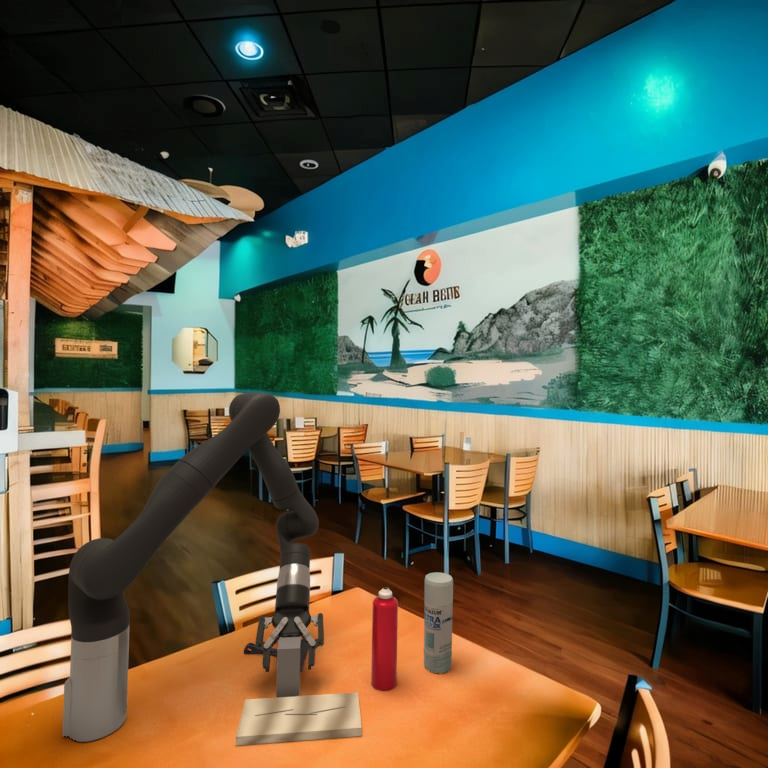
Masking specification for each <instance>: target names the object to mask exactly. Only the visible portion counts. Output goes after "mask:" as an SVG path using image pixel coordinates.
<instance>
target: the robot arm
mask: <svg viewBox="0 0 768 768" xmlns="http://www.w3.org/2000/svg"><path fill="white" fill-rule="evenodd" d="M280 407H281V406H280V402H279V400H278V398H276V396H274V395H273V394H270V393H266V392H259V391H257V392H245V393H240V394H238V395H236V396H235V397H234V398H232V400H231V401H230V403H229V407H228V416H229V419H230V422H229V424H227V426H225V427H224V428H223V429H222V430H221V431H219V432H218V433H217V434H215V435H214V436H212V437H210V438H208V439H207V440H205V441H204V442H201V443H200V444H199V445H197V446H195V447H194V448H192V449H191V450H189V451H188V452H187V453H186V454H184V455H183V456H182V457H181V458H180V459H179V460H177V462H175V463H174V464H173V466H172V467H171V468H169V469H168V471H166V472H165V473H164V474H163V476H161V478H160V479H159V481H158V482H157V483H156V485H155V487H154V488H153V490H152V492H151V494H150V496H149V498H148V500H147V502H146V503H145V506H144V508H143V509H142V511H141V512H140V513H139V515H138V517H137V518H136V519H135V520H134V521H133V522H131V524H130V525H129V526H128V527H127V528H126V529H125V530H124V531H123V532H121V534H120V535H119V536H117V537H116V538H115V539H114V540H113V539H111V538H108V537H107V538H105V537H100V538H94V539H92V540H89V541H87V542H85V543H84V544H83V545H82V546H80V547H79V548H78V550H77V551H76V552H75V554H73V556H72V559H71V562H70V564H69V569H68V588H67V589H68V590H67V591H68V593H67V594H68V598H67V599H68V601H67V603H68V608H67V609H68V617H69V623H70V628H71V629H70V631H71V632H70V634H71V637H70V639H71V640H70V641H71V642H70V665H69V666H70V667H69V668H70V671H69V677H68V678H67V679H66V680H65V682H64V684H63V685H64V686H63V706H62V707H63V713H62V736H63V737H62V738H69V737H70V739H71V738H72V739H73V741H75V740H76V742H81V743H83V742H92V741H96V740H99V739H102V738H104V737H105V738H106V737H107V736H109V735H110V734H112V733H114V732H115V731H117V730H118V729H119V728H120V727H122V725H123V724H124V723H125V721H126V720H127V714H128V711H127V709H128V688H129V687H128V685H129V655H130V654H129V653H130V652H129V650H130V649H129V648H130V624H131V623H130V621H131V620H130V619H131V618H130V617H131V616H130V614H131V613H130V608H129V606H128V603H127V600H126V596H125V592H124V591H125V590H126V589H128V588H129V586H131V584H132V583H133V582H134V581H135V580H136V579H137V577H138V576H139V575H140V573H141V572H142V570H143V569H144V568H145V566H147V564H148V562H150V560H151V559H152V557H153V556H154V555H155V553H156V552H157V551H158V550H159V548H161V546H162V544H163V543H164V542H165V541H166V540H167V538H169V537H170V535H171V534H172V533H173V532H174V531H175V530H176V529H177V528H178V527H179V525H180V524H181V523H182V522H183V521H184V520H185V519H186V517H188V516H189V515H190V513H191V512H192V511H193V510H194V509H195V508H196V507H197V506H198V505H199V504H200V503H201V502H202V501H203V500H204V499H205V498H206V496H207V495H208V494H210V492H211V491H213V489H214V488H215V486H216V485H217V484H218V483H219V482H220V480H222V478H223V477H225V475H226V474H227V473H228V472H229V471H230V469H232V468H233V466H234V465H235V464H236V463H237V462H238V461H239V459H241V457H242V456H243V455H244V454H245V453H246V452H247V451H248V452H249V453H250V455H251V456H252V458H253V460H254V462H255V464H256V466H257V468H258V470H259V472H260V474H261V476H262V478H263V481H264V483H265V486H266V488H267V491H268V494H269V496H270V499H271V501H272V504H273V506H274V507H275V508H277V509H279V510H289V511H287V512H284V513H282V514H280V515H279V516H278V517H277V520H276V522H275V530H276V534H277V538H278V543H279V551H280V558H279V560H280V561H279V570H278V575H277V580H276V581H277V582H276V592H275V593H276V594H275V606H274V614H273V616H272V617H271V616H270V617H266V616H265V615H262V614H261V615H260V616H259V618H258V624H257V630H256V636H255V641H254V644H256V648H257V649H261V650H263V655H262V661H261V662H262V663H261V664H262V668H263V669H264V670H265V672H266V673H268V672H270V670H271V669H270V668H271V656H272V655H271V648H274V646H275V644H276V645H277V644H278V643H279V638H286V637H301V639H303V640H304V641H305V642H306V643H307V645H308V646H309V647H308V652H307V670H308V671H310V670H312V667H314V666H315V664H316V649H318V647H323V646H324V644H325V628H324V614H323V613H321V612H319V613H318V614H317V615H316V614H315V615H311V614H310V613H311V612H310V601H311V600H310V599H311V597H310V596H311V574H310V570H311V569H310V567H311V566H310V565H311V549H310V548H309V546H308V545H307V544H306V543H303V542H297V541H296V542H295V541H294V540H298V539H303V538H307V537H311V536H314V535H315V534H316V533H317V532H318V529H319V524H320V523H319V518H318V514H317V513H316V511H315V509H314V508H313V507H312V506H311V504H310V503H309V502H308V501H307V499H306V498H305V496H304V495H303V494H302V492H301V491H300V488H299V486H298V483H297V480H296V478H295V475H294V472H293V471H292V470H291V466H290V465H289V464H288V462H287V461H286V459H285V458H284V457H283V456H282V455H281V453H280V452H279V451H278V449H277V448H276V446H275V445H274V443H273V441H272V440H271V438H270V435H269V433H268V432H269V431H270V430H272V428H274V426H275V425H276V423H277V422H278V420H279V418H280V414H281V408H280ZM311 623H313V625H314V626H315V627H317V638H315V639H314V637H313V636H312V634H311V633H310V631H309V629H308V627H309V626H310V625H311ZM270 625H272V626H273V628H274V630H273V631H272V633H270V635H269V637H268V638H267V640H266V641H264V636H265V630H267V629H268V628H269V626H270ZM64 736H66V737H64ZM67 736H69V737H67ZM72 739H71V740H72Z"/></svg>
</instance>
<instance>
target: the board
mask: <svg viewBox="0 0 768 768" xmlns="http://www.w3.org/2000/svg"><path fill="white" fill-rule="evenodd" d="M359 700H360V699H359V692H358V691H357V692H356V691H355V692H342V693H328V694H313V695H299V696H294V697H278V698H276V697H266V698H265V697H264V698H250V699H247V698H246V699H245V701H244V705H243V707H242V711H241V715H240V719H239V722H238V727H237V730H236V735H235V747H236V746H249V745H263V744H274V743H289V742H302V741H315V740H328V739H339V738H340V739H341V738H355V737H362V736H363V735H362V731H363V730H362V719H361V711H360V710H361V709H360V702H359Z"/></svg>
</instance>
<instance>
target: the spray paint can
mask: <svg viewBox="0 0 768 768" xmlns="http://www.w3.org/2000/svg"><path fill="white" fill-rule="evenodd" d="M423 595H424V601H423V603H424V606H423V609H424V612H423V613H424V615H423V619H424V621H423V666H425V667H424V668H425V669H427V671H428V670H429V671H430V672H429V671H428V672H429V673H432V672H433V673H432V674H435V673H444V674H447V673H449V672H450V671H451V669H452V661H453V659H452V658H453V657H452V654H453V653H452V652H453V651H452V648H453V647H452V646H453V605H454V579H453V577H452V575H450V574H448V573H445V572H441V571H440V572H437V571H436V572H429V573H428V574H426V575H425V578H424V594H423ZM449 670H450V671H449ZM448 671H449V672H448ZM446 672H447V673H446Z"/></svg>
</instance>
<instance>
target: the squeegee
mask: <svg viewBox="0 0 768 768" xmlns="http://www.w3.org/2000/svg"><path fill="white" fill-rule="evenodd" d="M308 647H309V646H308V645H307V643H306V642H305V641H304V640H303V638H301V662H300V673H301V672H302V671H303V667H304V666H305V661H306V658H307V656H308ZM243 654H244V655H262V656H263V650H261V649H257V648H256V644H255V642H254V643H253V642H248V643H247V644H246V645H245V646H244V648H243ZM271 656H275V657H277V648H275V647H272V648H271Z"/></svg>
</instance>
